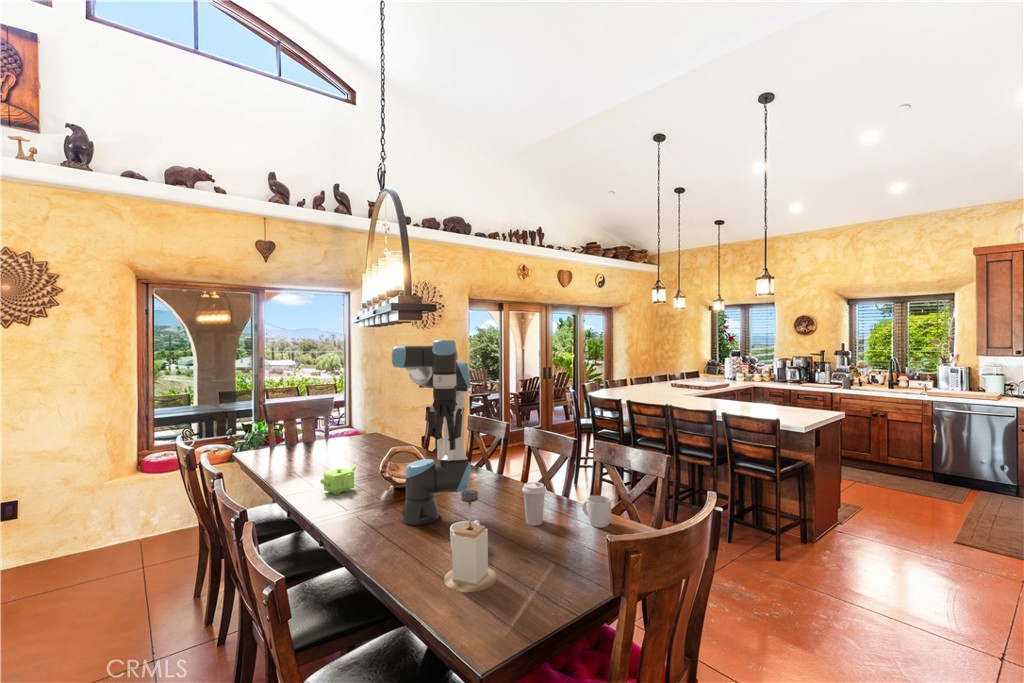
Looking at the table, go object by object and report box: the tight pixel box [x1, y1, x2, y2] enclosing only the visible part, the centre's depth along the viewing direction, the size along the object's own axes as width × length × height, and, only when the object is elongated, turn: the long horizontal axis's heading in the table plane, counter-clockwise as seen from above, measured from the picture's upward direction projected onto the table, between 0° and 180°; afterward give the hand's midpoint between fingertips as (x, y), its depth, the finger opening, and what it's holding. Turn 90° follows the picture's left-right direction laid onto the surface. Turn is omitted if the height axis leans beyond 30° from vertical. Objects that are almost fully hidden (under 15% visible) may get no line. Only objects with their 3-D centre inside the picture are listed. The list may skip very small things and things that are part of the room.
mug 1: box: [449, 520, 481, 551], centre depth 164 cm, size 13×10×8 cm
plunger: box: [460, 489, 479, 530], centre depth 142 cm, size 6×6×15 cm
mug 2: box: [582, 495, 612, 529], centre depth 185 cm, size 13×9×10 cm
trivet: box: [443, 567, 498, 593], centre depth 142 cm, size 16×16×1 cm
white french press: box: [451, 523, 489, 587], centre depth 142 cm, size 8×8×15 cm
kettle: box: [319, 466, 358, 496], centre depth 226 cm, size 15×14×11 cm
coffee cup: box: [521, 481, 547, 527], centre depth 186 cm, size 10×10×15 cm
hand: (445, 458), depth 152 cm, fingers open, 3 cm apart
